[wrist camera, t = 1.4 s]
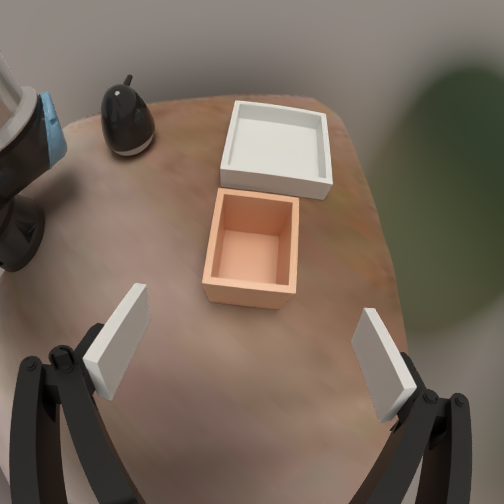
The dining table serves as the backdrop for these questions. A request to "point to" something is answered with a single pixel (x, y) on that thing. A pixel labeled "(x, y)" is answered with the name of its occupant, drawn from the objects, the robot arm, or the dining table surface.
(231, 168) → the white tray
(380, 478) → the robot arm
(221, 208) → the terracotta crate
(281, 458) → the dining table surface
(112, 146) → the pump dispenser
